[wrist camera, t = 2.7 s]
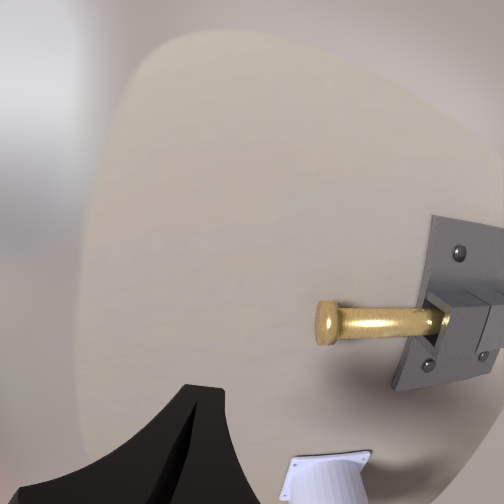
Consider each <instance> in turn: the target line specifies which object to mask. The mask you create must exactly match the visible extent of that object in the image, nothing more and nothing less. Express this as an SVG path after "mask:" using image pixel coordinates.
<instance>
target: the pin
mask: <svg viewBox="0 0 504 504" xmlns="http://www.w3.org/2000/svg"><path fill="white" fill-rule="evenodd" d="M444 315H445V313H444V312H443V311H442V310H440V309H439V308H415V309H363V308H339V307H338V304H337V302H336V301H320V302H319V304H318V307H317V311H316V317H315V338H316V342H317V344H318V345H334V344H335V342H336V340H337V339H349V338H390V337H410V336H425V335H438V334H439V332H440V329H441V325H442V322H443V319H444Z"/></svg>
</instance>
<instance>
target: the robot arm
mask: <svg viewBox="0 0 504 504" xmlns="http://www.w3.org/2000/svg"><path fill="white" fill-rule="evenodd" d="M370 455H371V453H370V451H362V452H355V453H346V454H336V455H324V456H307V457H294V458H292V459H291V462H290V466H289V469H288V472H287V476H286V479H285V482H284V485H283V488H282V491H281V494H280V500H283V501H285V500H289V504H369V502H368V499H367V495H366V492H365V488H364V485H363V482H362V478H361V475H360V472H361V471H362V469H363V467H364V466H365V464H366V462H367V461H368V459H369V457H370ZM8 504H260V502H259V501H258V499H257V497H256V496H255V494H254V492H253V490H252V489H251V487H250V485H249V483H248V481H247V479H246V477H245V475H244V473H243V470H242V468H241V466H240V463H239V461H238V458H237V456H236V453H235V450H234V447H233V444H232V441H231V438H230V434H229V430H228V426H227V422H226V416H225V391H224V390H223V389H222V388H214V387H205V386H197V385H189V384H185V385H184V386H182V388H181V389H180V390H179V391H178V393H177V394H176V395H175V396H174V397H173V398H172V400H171V401H170V402H169V403H168V404H167V405H166V406H165V407H164V408H163V409H162V410H161V411H160V412H159V413H158V414H157V415H156V416H155V417H154V418H153V419H152V420H151V421H150V422H149V423H148V424H147V425H146V426H145V427H144V428H143V429H141V430H140V431H139V432H138V433H137V434H136V435H134V436H133V437H132V438H131V439H129V440H128V441H127V442H125V443H124V444H123V445H121V446H120V447H118V448H117V449H116V450H114V451H113V452H111V453H109V454H108V455H106V456H104V457H103V458H101V459H99V460H97V461H96V462H94V463H92V464H90V465H88V466H86V467H84V468H82V469H80V470H77V471H75V472H72V473H70V474H67V475H65V476H62V477H59V478H56V479H53V480H50V481H46V482H42V483H38V484H34V485H30V486H24V487H20V488H19V489H18V490H17V491H16V493H15V494H14V496H13V497H12V499H11V500H10V502H9V503H8Z"/></svg>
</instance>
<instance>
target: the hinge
mask: <svg viewBox="0 0 504 504" xmlns="http://www.w3.org/2000/svg"><path fill="white" fill-rule="evenodd" d="M416 308H439V309H440V310H442V311H443V312H444V313H445V315H444V319H443V322H442V325H441V329H440V332H439V334H438V335H425V336H410V337H408V338H407V342H406V345H405V348H404V351H403V354H402V358H401V361H400V363H399V366H398V369H397V372H396V375H395V378H394V380H393V383H392V388H393V390H394V391H395V392H398V391H405V390H412V389H418V388H424V387H430V386H435V385H441V384H446V383H450V382H455V381H459V380H464V379H468V378H472V377H476V376H480V375H483V374H487V373H490V371H491V369H492V367H493V364H494V362H495V360H496V357H497V355H498V352H499V350H500V348H504V229H503V228H499V227H494V226H489V225H484V224H479V223H474V222H469V221H463V220H458V219H452V218H447V217H441V216H435V215H432V221H431V229H430V237H429V244H428V250H427V256H426V262H425V268H424V273H423V278H422V283H421V288H420V292H419V297H418V301H417V305H416Z"/></svg>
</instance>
